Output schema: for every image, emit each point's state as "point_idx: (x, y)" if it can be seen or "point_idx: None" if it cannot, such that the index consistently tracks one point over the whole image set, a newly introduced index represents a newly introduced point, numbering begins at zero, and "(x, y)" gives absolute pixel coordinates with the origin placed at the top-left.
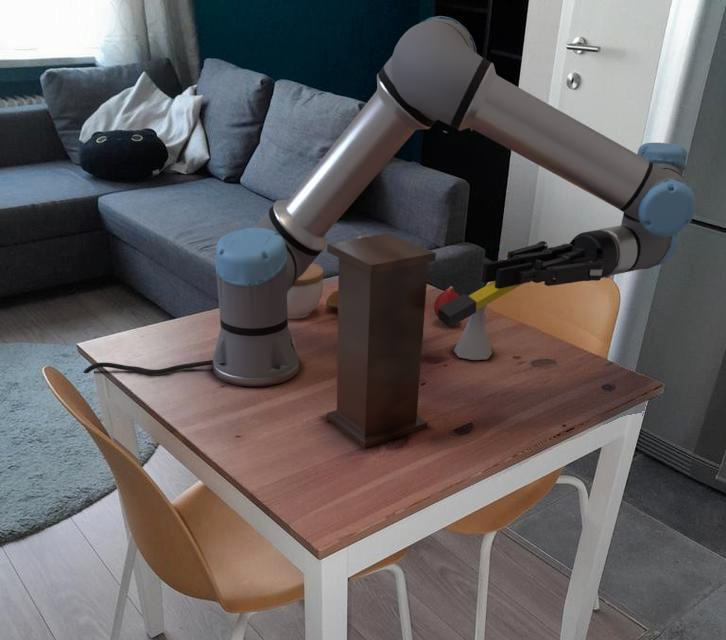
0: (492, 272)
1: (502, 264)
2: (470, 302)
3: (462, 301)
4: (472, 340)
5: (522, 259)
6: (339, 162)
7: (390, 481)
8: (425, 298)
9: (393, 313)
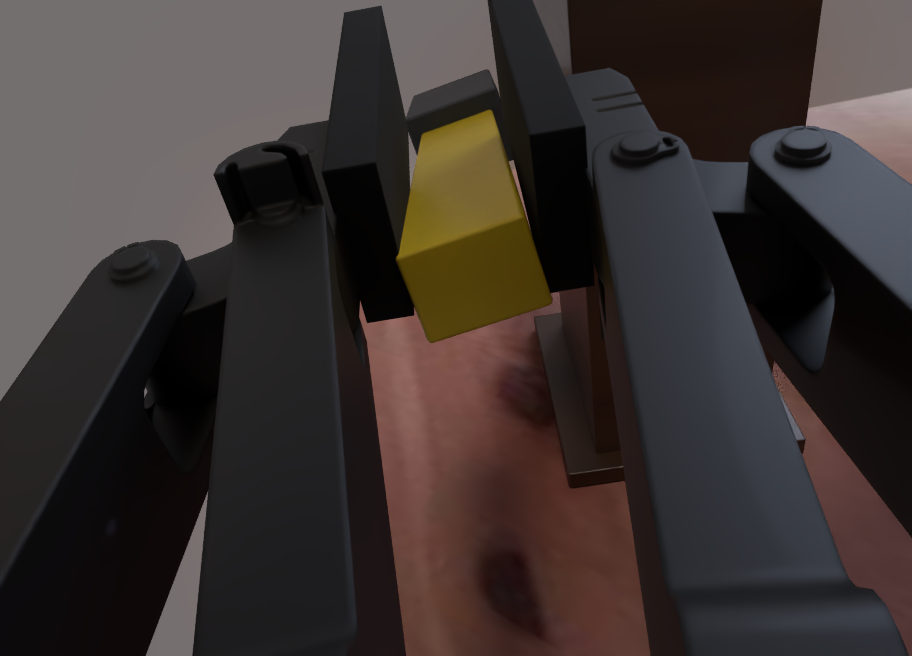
0: (500, 74)
1: (505, 64)
2: (420, 111)
3: (452, 95)
4: None
5: (596, 207)
6: None
7: (380, 332)
8: (567, 30)
9: (545, 11)
